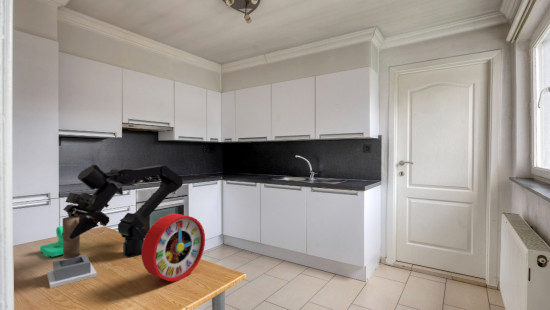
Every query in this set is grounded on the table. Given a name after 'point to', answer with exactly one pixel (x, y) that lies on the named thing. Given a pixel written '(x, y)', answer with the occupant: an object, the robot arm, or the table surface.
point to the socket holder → (70, 271)
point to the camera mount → (54, 245)
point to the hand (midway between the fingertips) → (66, 237)
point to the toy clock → (173, 247)
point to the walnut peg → (70, 245)
